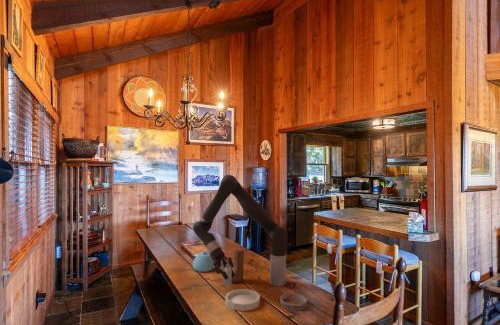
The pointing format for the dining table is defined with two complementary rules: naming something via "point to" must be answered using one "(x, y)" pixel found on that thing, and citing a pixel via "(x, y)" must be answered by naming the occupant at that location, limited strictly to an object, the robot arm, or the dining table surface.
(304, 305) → the bracelet
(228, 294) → the round tray
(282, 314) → the dining table surface
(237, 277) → the wooden block
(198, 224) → the robot arm
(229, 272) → the grey peg
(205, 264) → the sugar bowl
